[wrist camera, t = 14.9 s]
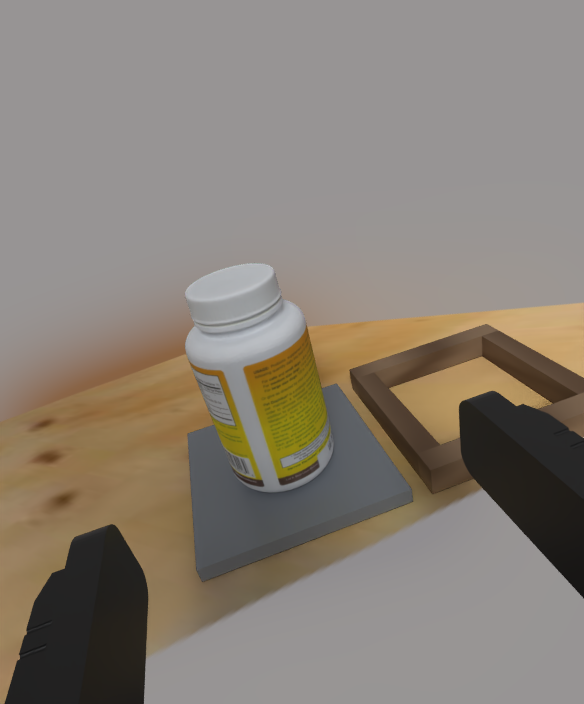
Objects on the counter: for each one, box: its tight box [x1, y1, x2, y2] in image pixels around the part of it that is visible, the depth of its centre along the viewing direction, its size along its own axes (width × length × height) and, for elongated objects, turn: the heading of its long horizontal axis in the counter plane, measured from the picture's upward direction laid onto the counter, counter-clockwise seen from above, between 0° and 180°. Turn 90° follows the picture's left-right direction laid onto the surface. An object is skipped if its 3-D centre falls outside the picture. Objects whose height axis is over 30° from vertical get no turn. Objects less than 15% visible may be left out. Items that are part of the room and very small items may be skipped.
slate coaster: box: [188, 384, 413, 582], centre depth 24 cm, size 10×10×1 cm
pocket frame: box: [349, 324, 584, 494], centre depth 25 cm, size 10×10×2 cm
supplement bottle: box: [185, 263, 334, 493], centre depth 21 cm, size 6×6×10 cm
